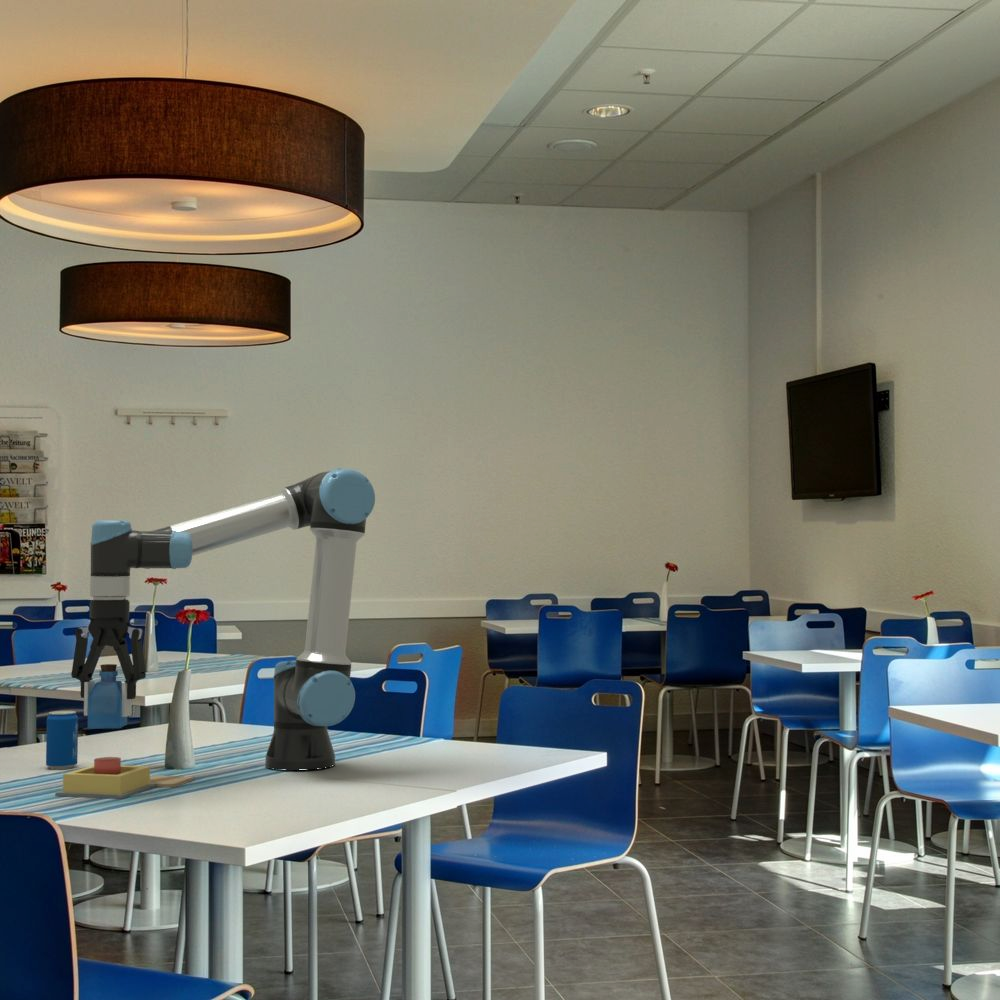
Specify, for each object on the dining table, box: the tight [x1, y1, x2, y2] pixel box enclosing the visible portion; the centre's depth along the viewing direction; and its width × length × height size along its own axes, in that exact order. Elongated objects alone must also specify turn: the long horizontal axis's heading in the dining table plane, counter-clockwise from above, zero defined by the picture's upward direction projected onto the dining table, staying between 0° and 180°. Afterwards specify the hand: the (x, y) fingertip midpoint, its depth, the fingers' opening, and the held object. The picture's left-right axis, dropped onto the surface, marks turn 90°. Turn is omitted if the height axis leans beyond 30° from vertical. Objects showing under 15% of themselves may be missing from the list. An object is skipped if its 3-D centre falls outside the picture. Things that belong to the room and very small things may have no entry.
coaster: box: [150, 774, 195, 788], centre depth 264 cm, size 9×9×1 cm
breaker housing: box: [54, 764, 157, 800], centre depth 255 cm, size 14×14×4 cm
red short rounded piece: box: [93, 756, 122, 775], centre depth 255 cm, size 5×5×3 cm
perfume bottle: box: [87, 663, 128, 729], centre depth 256 cm, size 6×6×12 cm
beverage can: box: [45, 710, 79, 770], centre depth 284 cm, size 6×6×12 cm
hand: (107, 715), depth 256 cm, fingers closed on perfume bottle, 7 cm apart
